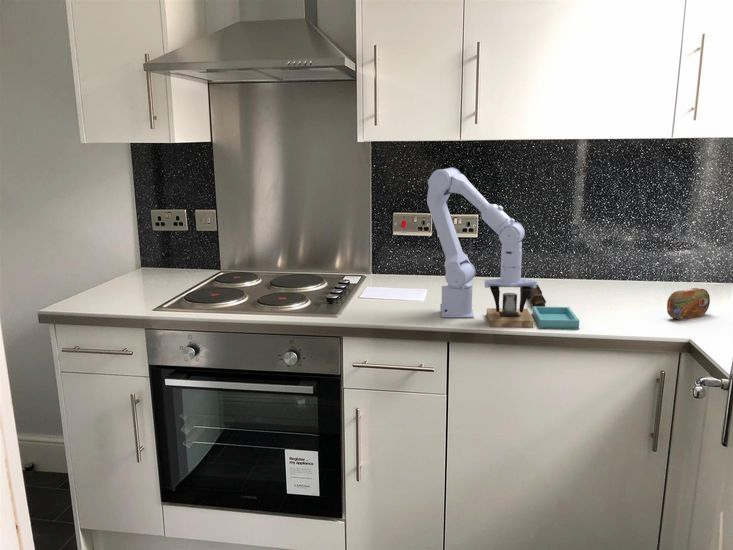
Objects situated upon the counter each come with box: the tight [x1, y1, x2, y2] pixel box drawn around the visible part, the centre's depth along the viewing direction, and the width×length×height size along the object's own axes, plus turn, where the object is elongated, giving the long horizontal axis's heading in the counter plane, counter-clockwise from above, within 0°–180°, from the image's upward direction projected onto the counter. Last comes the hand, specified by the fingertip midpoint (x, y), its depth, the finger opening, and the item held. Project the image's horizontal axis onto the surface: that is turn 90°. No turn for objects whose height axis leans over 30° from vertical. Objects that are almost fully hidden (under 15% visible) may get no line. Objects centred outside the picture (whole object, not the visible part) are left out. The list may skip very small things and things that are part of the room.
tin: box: [666, 287, 711, 321], centre depth 181 cm, size 15×3×8 cm, turn 114°
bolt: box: [527, 284, 547, 308], centre depth 198 cm, size 6×5×15 cm
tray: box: [531, 306, 580, 330], centre depth 180 cm, size 11×14×2 cm
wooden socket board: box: [486, 307, 534, 329], centre depth 181 cm, size 12×12×2 cm
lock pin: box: [502, 292, 518, 317], centre depth 181 cm, size 4×4×8 cm
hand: (509, 311), depth 181 cm, fingers open, 6 cm apart
